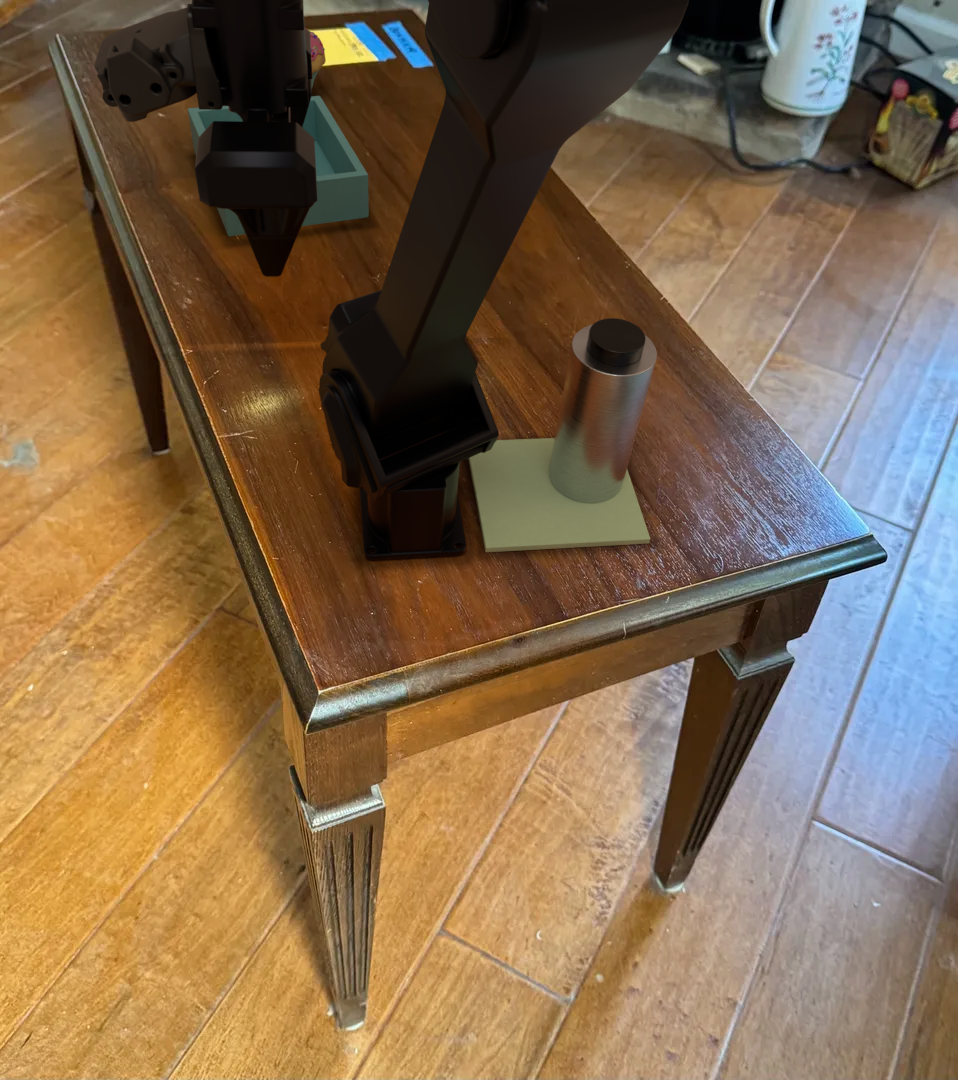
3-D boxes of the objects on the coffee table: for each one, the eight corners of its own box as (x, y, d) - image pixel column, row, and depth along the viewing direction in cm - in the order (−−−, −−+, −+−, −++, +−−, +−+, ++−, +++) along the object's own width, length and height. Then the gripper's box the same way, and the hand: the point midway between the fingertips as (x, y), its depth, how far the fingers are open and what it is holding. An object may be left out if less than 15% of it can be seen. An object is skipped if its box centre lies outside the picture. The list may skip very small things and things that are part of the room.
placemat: (649, 543, 62) (650, 538, 62) (485, 552, 61) (485, 547, 61) (615, 440, 69) (616, 435, 69) (465, 446, 67) (466, 440, 67)
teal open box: (368, 224, 86) (368, 174, 82) (229, 244, 82) (222, 192, 78) (322, 143, 95) (319, 95, 91) (195, 157, 91) (187, 108, 88)
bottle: (556, 505, 63) (584, 363, 54) (542, 452, 67) (566, 309, 58) (630, 501, 64) (670, 361, 55) (613, 449, 68) (648, 308, 59)
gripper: (109, -93, 55) (157, 163, 67) (59, 39, 43) (129, 323, 55) (303, -85, 56) (317, 164, 68) (308, 45, 44) (324, 320, 56)
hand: (272, 235), depth 62 cm, fingers open, 9 cm apart
